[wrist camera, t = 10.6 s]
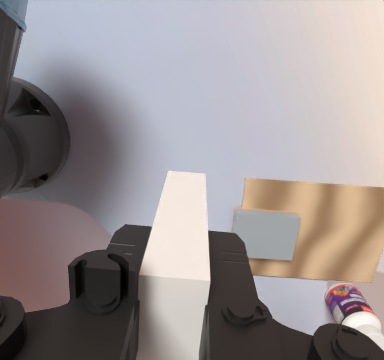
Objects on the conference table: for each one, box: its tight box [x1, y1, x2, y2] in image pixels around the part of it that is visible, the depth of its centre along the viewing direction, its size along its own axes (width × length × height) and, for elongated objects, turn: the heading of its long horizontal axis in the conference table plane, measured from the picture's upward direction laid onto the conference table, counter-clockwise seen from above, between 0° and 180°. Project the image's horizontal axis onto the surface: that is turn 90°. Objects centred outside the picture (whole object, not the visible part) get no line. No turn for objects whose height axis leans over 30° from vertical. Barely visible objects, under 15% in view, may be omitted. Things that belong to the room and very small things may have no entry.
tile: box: [232, 208, 301, 261], centre depth 45 cm, size 2×7×9 cm
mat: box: [242, 178, 384, 283], centre depth 47 cm, size 22×16×1 cm
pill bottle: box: [325, 282, 384, 350], centre depth 46 cm, size 5×5×10 cm
